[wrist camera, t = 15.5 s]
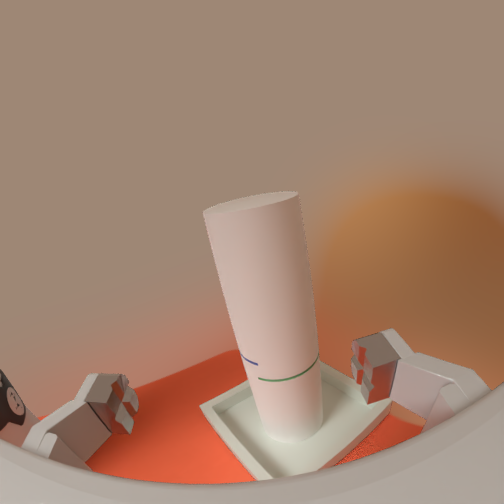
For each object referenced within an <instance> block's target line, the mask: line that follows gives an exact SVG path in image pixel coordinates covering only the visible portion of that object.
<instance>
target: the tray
mask: <svg viewBox="0 0 504 504" xmlns="http://www.w3.org/2000/svg"><path fill="white" fill-rule="evenodd" d="M320 372H321V387H322V405H323V422H322V425H321V427H320V429H319V430H318V431H317V432H316V433H315V434H314V435H313V436H311V437H310V438H308V439H306V440H304V441H301V442H297V443H282V442H279V441H276V440H274V439H272V438H271V437H269V436H268V435H267V433H266V432H265V430H264V428H263V425H262V422H261V419H260V415H259V412H258V409H257V406H256V403H255V400H254V396H253V393H252V390H251V387H250V384H249V381H248V380H247V381H245V382H243V383H241V384H239V385H238V386H236V387H234V388H232V389H230V390H228V391H227V392H225V393H223V394H221V395H219V396H217V397H215V398H213V399H211V400H209V401H207V402H205V403H203V404H201V405H199V406H200V408H201V410H202V412H203V414H204V416H205V418H206V419H207V420H208V422H209V423H210V425H211V426H212V427H213V429H214V430H215V431H216V433H217V434H218V435H219V437H220V438H221V439H222V440H223V442H224V443H225V444H226V446H227V447H228V448H229V449H230V451H231V452H232V453H233V454H234V455H235V457H236V458H237V459H238V460H239V461H240V463H241V464H242V465H243V466H244V467H245V469H246V470H247V471H248V472H249V473H250V474H251V475H252V476H253V478H254V479H255V480H256V481H260V480H268V479H275V478H281V477H287V476H293V475H298V474H303V473H308V472H313V471H317V470H321V469H325V468H329V467H333V466H334V465H336V464H337V463H338V462H339V461H340V460H342V459H343V458H344V457H345V456H346V455H347V454H348V453H350V452H351V451H352V450H353V449H354V448H355V447H356V446H357V445H358V444H359V443H360V442H361V441H363V440H364V439H365V438H366V437H367V436H368V435H369V434H370V433H371V432H372V431H373V430H374V429H375V428H376V427H377V426H378V425H379V424H380V422H381V421H382V420H383V419H384V418H385V417H386V416H387V415H388V414H389V413H390V410H391V405H392V401H393V400H391V399H389V398H386V399H383V400H380V401H377V402H374V403H371V404H368V405H367V403H366V401H365V399H364V397H363V395H362V393H361V385H359V384H357V383H356V382H355V380H354V379H352V378H350V377H348V376H347V375H345V374H343V373H341V372H339V371H338V370H336V369H334V368H332V367H331V366H329V365H327V364H325V363H324V362H322V361H320Z"/></svg>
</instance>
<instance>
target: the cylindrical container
mask: <svg viewBox="0 0 504 504" xmlns="http://www.w3.org/2000/svg"><path fill="white" fill-rule="evenodd" d="M203 216H204V220H205V224H206V228H207V232H208V236H209V240H210V244H211V248H212V252H213V256H214V260H215V263H216V267H217V271H218V275H219V279H220V282H221V286H222V290H223V294H224V297H225V301H226V305H227V309H228V312H229V316H230V320H231V323H232V327H233V330H234V334H235V337H236V341H237V344H238V347H239V351H240V355H241V358H242V361H243V364H244V368H245V371H246V374H247V377H248V381H249V384H250V387H251V390H252V393H253V396H254V400H255V403H256V406H257V409H258V412H259V415H260V419H261V422H262V425H263V428H264V430H265V432H266V433H267V435H268V436H269V437H271V438H272V439H274V440H276V441H279V442H282V443H297V442H301V441H304V440H306V439H308V438H310V437H311V436H313V435H314V434H315V433H316V432H317V431H318V430H319V429H320V427H321V425H322V422H323V405H322V387H321V372H320V360H319V348H318V335H317V325H316V315H315V306H314V298H313V290H312V281H311V273H310V265H309V258H308V251H307V244H306V237H305V231H304V224H303V218H302V212H301V206H300V200H299V194H298V192H293V191H284V192H283V191H282V192H272V193H265V194H258V195H253V196H248V197H243V198H240V199H235V200H231V201H227V202H224V203H221V204H218V205H215V206H212V207H210V208H208V209H206V210H204V211H203Z"/></svg>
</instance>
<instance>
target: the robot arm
mask: <svg viewBox="0 0 504 504" xmlns="http://www.w3.org/2000/svg"><path fill="white" fill-rule="evenodd" d="M352 351H353V353H354V356H353V357H352V358H351V369H352V374H353V377H354V380H355V382H356V383H357V384H359V385H361V393H362V395H363V397H364V399H365V401H366V403H367V405H368V404H371V403H374V402H377V401H380V400H383V399H386V398H389V397H390V398H389V399H391V400H393V401H394V402H396V403H398V404H400V405H401V406H403V407H405V408H406V409H408V410H410V411H412V412H413V413H415V414H417V415H419V416H421V417H422V418H424V419H426V420H427V421H426V423H425V425H424V427H423V429H422V431H421V433H420V434H419V435H417V436H415V437H413V438H410V439H408V440H406V441H404V442H401V443H399V444H397V445H394V446H392V447H390V448H387V449H385V450H382V451H379V452H377V453H374V454H371V455H368V456H365V457H363V458H360V459H356V460H353V461H350V462H347V463H343V464H340V465H336V466H333V467H329V468H325V469H321V470H317V471H313V472H308V473H303V474H298V475H293V476H287V477H281V478H275V479H268V480H260V481H250V482H239V483H222V484H181V483H164V482H153V481H144V480H136V479H129V478H123V477H117V476H111V475H106V474H102V473H97V472H93V470H92V469H91V468H90V467H89V466H88V465H86V464H85V462H86V461H87V460H88V459H89V458H90V457H91V456H92V455H93V454H94V453H95V452H96V451H97V450H98V448H99V447H100V446H101V445H102V444H103V443H104V442H105V441H106V440H107V439H108V438H109V437H110V436H111V435H112V434H111V433H113V434H128V435H130V434H131V431H132V427H133V424H134V420H133V418H132V417H133V416H134V415H135V414H136V413H137V411H138V407H139V405H138V397H137V394H136V393H135V391H134V390H133V389H132V388H130V387H129V386H128V384H129V381H128V379H127V378H126V376H125V375H123V374H95V373H91V374H89V375H88V376H87V378H86V379H85V381H84V383H83V385H82V386H81V388H80V390H79V392H78V393H77V396H76V397H75V399H74V401H72V400H71V401H69V402H68V403H66V404H65V405H64V406H62V407H60V408H59V409H58V410H56V411H55V412H53V413H52V414H50V415H49V416H47V417H46V418H44V419H43V420H41V421H40V420H39V419H38V418H37V417H36V416H35V415H33V413H32V412H31V411H30V410H29V409H28V408H27V407H26V406H25V405H24V403H23V401H22V400H21V398H20V397H19V395H18V393H17V392H16V390H15V389H14V387H13V386H12V385H11V383H10V382H9V380H8V379H7V377H6V376H5V375H4V373H3V372H2V371H1V370H0V504H504V382H503V383H502V384H500V385H499V386H498V387H496V388H495V389H494V390H491V389H490V388H489V387H488V386H487V385H486V384H485V382H484V381H483V380H482V379H481V378H480V377H479V376H478V375H477V374H476V373H475V371H474V370H472V369H469V368H466V367H463V366H459V365H456V364H453V363H450V362H447V361H444V360H441V359H437V358H434V357H431V356H428V355H425V354H422V353H419V352H418V353H414V352H413V351H412V349H411V348H410V347H409V346H408V345H407V343H406V342H405V341H404V340H403V339H402V338H401V336H400V335H399V334H398V333H397V332H396V331H395V330H394V329H392V328H390V329H387V330H384V331H381V332H379V333H376V334H372V335H370V336H366V337H363V338H359V339H356V340H353V342H352Z"/></svg>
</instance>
